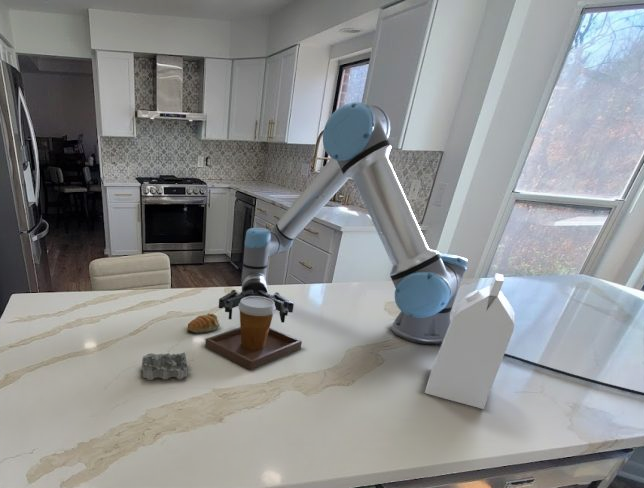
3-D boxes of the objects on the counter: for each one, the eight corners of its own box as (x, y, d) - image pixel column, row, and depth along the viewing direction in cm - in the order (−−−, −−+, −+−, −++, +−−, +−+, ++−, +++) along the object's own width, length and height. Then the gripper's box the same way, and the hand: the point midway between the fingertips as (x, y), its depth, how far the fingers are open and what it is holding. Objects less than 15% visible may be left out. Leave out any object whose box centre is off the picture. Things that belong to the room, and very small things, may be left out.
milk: (483, 409, 91) (536, 290, 78) (424, 393, 96) (464, 279, 83) (484, 385, 100) (532, 275, 87) (430, 371, 105) (468, 266, 92)
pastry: (196, 336, 120) (196, 323, 118) (181, 329, 124) (181, 316, 122) (221, 328, 125) (222, 316, 123) (206, 321, 129) (206, 309, 127)
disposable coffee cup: (230, 348, 112) (233, 304, 106) (240, 335, 120) (244, 293, 113) (266, 355, 109) (271, 310, 103) (274, 341, 117) (280, 298, 110)
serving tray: (300, 348, 115) (302, 340, 114) (250, 370, 104) (251, 361, 102) (254, 329, 125) (255, 321, 124) (205, 346, 114) (205, 338, 113)
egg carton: (141, 380, 98) (140, 365, 96) (142, 365, 104) (142, 350, 102) (187, 380, 99) (188, 364, 96) (186, 365, 105) (186, 350, 103)
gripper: (294, 304, 129) (303, 332, 111) (212, 299, 131) (207, 326, 113) (298, 279, 126) (308, 304, 107) (213, 275, 127) (209, 299, 109)
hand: (256, 316), depth 110 cm, fingers open, 13 cm apart
